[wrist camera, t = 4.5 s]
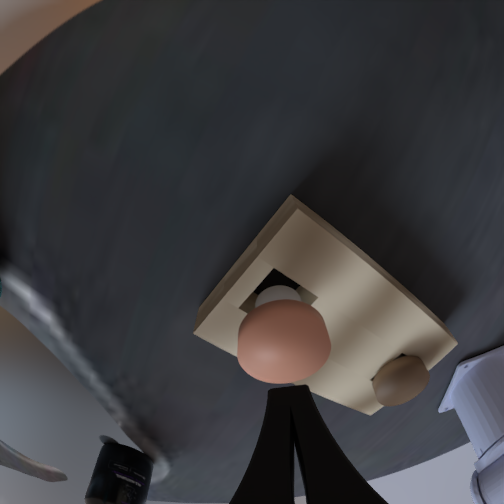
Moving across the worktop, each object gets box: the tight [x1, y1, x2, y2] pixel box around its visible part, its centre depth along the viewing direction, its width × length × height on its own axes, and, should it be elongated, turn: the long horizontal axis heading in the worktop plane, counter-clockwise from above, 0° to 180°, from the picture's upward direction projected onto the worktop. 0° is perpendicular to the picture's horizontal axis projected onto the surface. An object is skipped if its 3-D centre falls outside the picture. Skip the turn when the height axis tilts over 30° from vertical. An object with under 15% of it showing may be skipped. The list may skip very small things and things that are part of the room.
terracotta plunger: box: [237, 285, 331, 383], centre depth 14 cm, size 4×4×4 cm
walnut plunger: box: [372, 353, 430, 406], centre depth 19 cm, size 4×4×4 cm
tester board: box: [193, 194, 458, 415], centre depth 19 cm, size 16×9×2 cm, turn 54°
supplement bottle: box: [85, 443, 153, 504], centre depth 24 cm, size 7×7×12 cm
